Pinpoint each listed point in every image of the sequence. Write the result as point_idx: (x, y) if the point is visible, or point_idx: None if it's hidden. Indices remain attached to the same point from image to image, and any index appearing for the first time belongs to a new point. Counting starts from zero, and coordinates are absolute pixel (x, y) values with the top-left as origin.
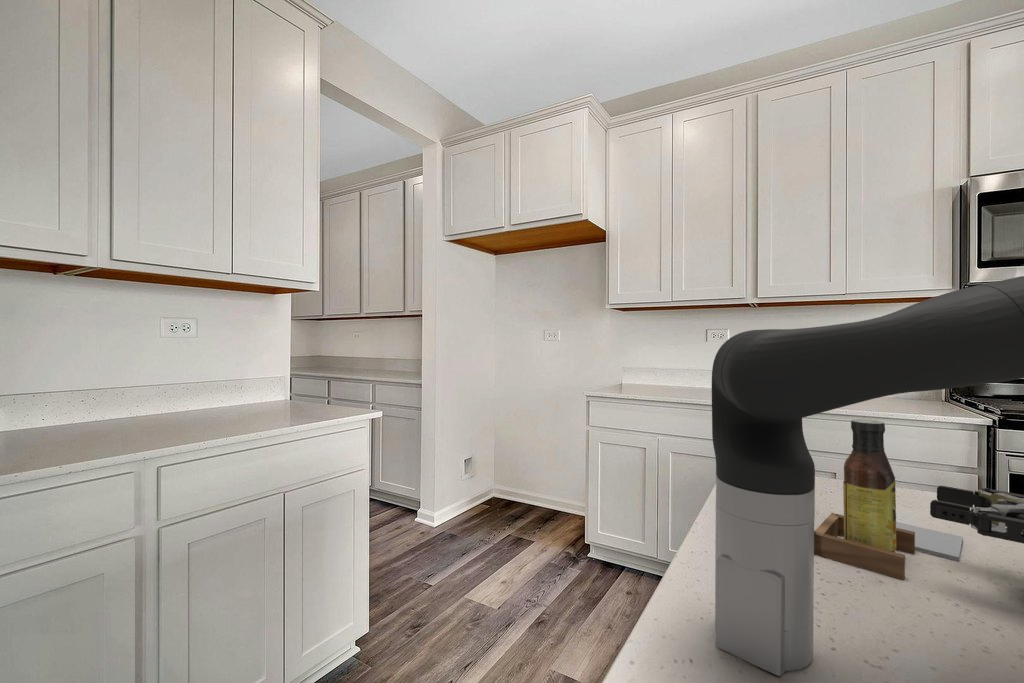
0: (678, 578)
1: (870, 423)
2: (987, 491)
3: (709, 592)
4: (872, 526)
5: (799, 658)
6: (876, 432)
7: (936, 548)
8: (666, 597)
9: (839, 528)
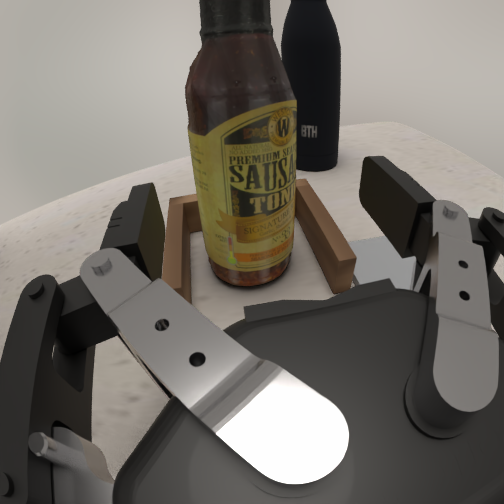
0: (35, 211)
1: None
2: (487, 223)
3: (21, 230)
4: (201, 213)
5: None
6: None
7: None
8: (6, 223)
9: (296, 206)
